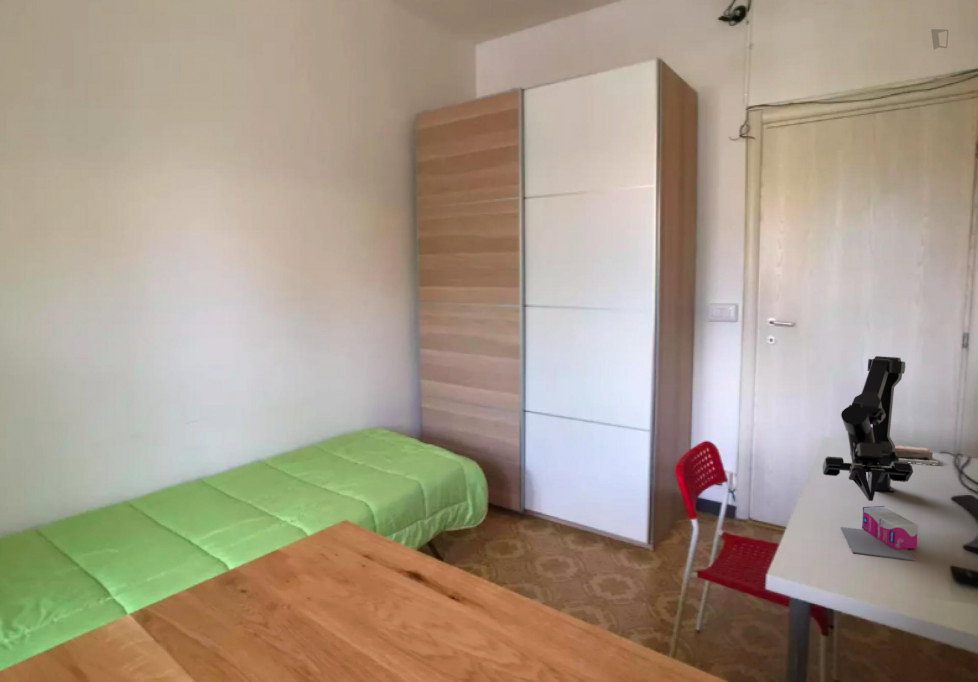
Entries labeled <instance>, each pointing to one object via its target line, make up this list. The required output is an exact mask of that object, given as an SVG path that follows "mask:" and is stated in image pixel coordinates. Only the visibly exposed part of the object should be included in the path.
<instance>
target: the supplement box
mask: <svg viewBox="0 0 978 682" xmlns="http://www.w3.org/2000/svg"><path fill="white" fill-rule="evenodd" d="M861 522H862V524H861V529H864V530H865V531H867V532H869V533H870V534H872V535H873V536H875V537H876V538H878V539H879V540H881V541H882V542H884V543H886V544H887V545H889V546H890V547H892V548H893V549H903V548H907V549H917V548H918V540H919V539H918V538H919V537H918V536H919V525H918V524H916V523H915V522H913V521H912V520H909V519H908V518H906V517H904V516H902V515H901V514H899V513H897V512H895V511H893V510H892V509H890V508H889V507H887V506H884V505H880V506H879V505H878V506H877V505H876V506H863V507H862V521H861Z"/></svg>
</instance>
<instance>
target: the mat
mask: <svg viewBox="0 0 978 682" xmlns="http://www.w3.org/2000/svg"><path fill="white" fill-rule="evenodd" d="M840 530H841V533H843V536H844V538H845V540H846V542H847V543H848V546H849V548H850V550H851V552H852V554H858V555H865V556H872V555H874V556H873V557H881V558H887V559H888V558H889V559H895V560H905V561H912V562H915V561H916V559H915V557H914V556H913V555H912V553H911V552H910V551H909V548H903V549H893V548H892V547H890V546H889V545H887V544H886V543H884V542H882V541H881V540H879V539H878V538H876V537H875V536H873V535H872V534H870V533H869V532H867V531H865V530H864V529H862V528H852V527H844V526H840Z"/></svg>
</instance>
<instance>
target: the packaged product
mask: <svg viewBox="0 0 978 682" xmlns="http://www.w3.org/2000/svg"><path fill="white" fill-rule="evenodd" d="M894 445H895V452H897V456H898V457H899V462H911V463H922V464H921V465H923V464H935V465H934V466H936V465H938V466H939V461H938V460H936V459H935V458H934V457H933V452H932V450H931V449H930V448H927V447H922V446H921V447H920V446H919V447H918V446H909V445H900V444H899V445H898V444H894ZM911 463H910V464H911Z"/></svg>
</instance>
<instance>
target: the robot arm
mask: <svg viewBox="0 0 978 682" xmlns="http://www.w3.org/2000/svg"><path fill="white" fill-rule="evenodd" d="M867 360H868V361H867V372H868V373H867V377H866V379H865V382H864V386H863V388H862V391H861V393H860V394H858V395H856V396H855V397H854V398H853V401H852V403H851V404H849V405H848V406H847V407H845V408H844V409H843V410H842V411H841V414H840V417H841V420H842V422H843V425H844V428H845V430H846V432H847V436H848V443H849V450H850V451H849V453H850V454H849V456H850V457H851V462H844V458H843V457H840V456H826V457H825V458H824V461H823V464H822V474H823V475H824V476H829V477H830V476H834V477H838V476H839V475H840V474H841V471H847V472H848V480H849V481H853V482H854V483H855V485H856V486H857V487H858V488H859V489H860V490H861V492H862V493H863V495H864V496H865V498H866V499H867V500H868V501H869V502H873V501H874V498H875V493H876V491H878V492H886V493H887V492H890V493H895V489H894V488H893V487H892V486H891V481H892V482H903V483H905V482H908V481H909V480H910V478H911V477H912V475H913V473H914V470H913V465H912V464H911V463H908V462H899V457H898V456H897V452H895V445H896V444H895V443H894V441H893V440H892V438H891V435H890V434H891V426H892V424H891V423H892V413H893V404H894V403H893V402H894V395H895V394H894V393H895V387H896V386H897V385H898V383H900V381H902V377H903V374H905V371H906V362H905V361H902V359H901V357H896V356H895V357H894V356H878V355H876V356H874V358H868V359H867Z"/></svg>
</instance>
